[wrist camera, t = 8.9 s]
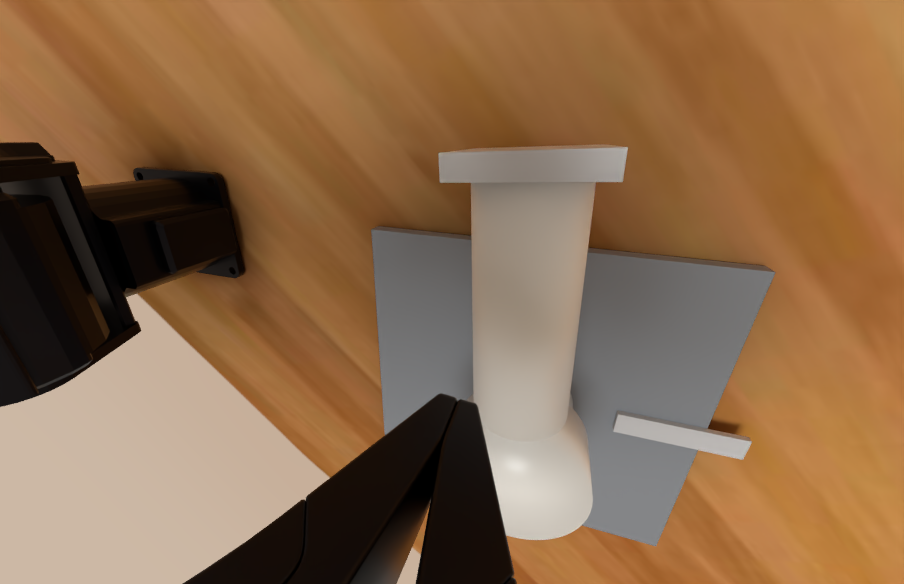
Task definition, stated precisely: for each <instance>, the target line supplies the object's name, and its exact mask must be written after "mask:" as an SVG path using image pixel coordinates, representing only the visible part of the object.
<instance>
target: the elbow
mask: <svg viewBox="0 0 904 584" xmlns="http://www.w3.org/2000/svg"><path fill="white" fill-rule="evenodd" d="M627 150H628V147H622V146H615V145H608V144H596V145H564V146H532V147H500V148H474V149H465V150H457V151H449V152H441V153H438V154H439V176H440V183H471V239H472V321H473V394H472V395H471V396H470V397H469V398H468V399H467V401H470V402H473V403H476V404H477V406H478V409H479V413H480V418H481V422H482V427H483V432H484V436H485V441H486V445H487V450H488V455H489V459H490V464H491V468H492V473H493V478H494V482H495V487H496V491H497V496H498V501H499V505H500V510H501V514H502V519H503V524H504V528H505V533H506V535H507V536H511V537H515V538H520V539H528V540H547V539H554V538H558V537H562V536H564V535H567V534H569V533H571V532H573V531H575V530H576V529H578V528H579V527H580V526H581V525H582V524H583V523H584V522H585V521H586V520H587V518H588V516H589V514H590V512H591V509H592V504H593V494H592V483H591V471H590V460H589V449H588V438H587V433H586V429H585V426H584V424H583V422H582V420H581V419H580V417H579V416H578V414H577V413H576V412H575V411H574V410H573V408H572V407H571V406H569V399H570V391H571V383H572V375H573V367H574V359H575V350H576V342H577V334H578V326H579V318H580V310H581V301H582V293H583V285H584V277H585V269H586V261H587V253H588V244H589V236H590V228H591V220H592V212H593V204H594V195H595V187H596V182H623V177H624V170H625V163H626V157H627Z"/></svg>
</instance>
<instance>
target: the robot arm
mask: <svg viewBox="0 0 904 584" xmlns="http://www.w3.org/2000/svg"><path fill="white" fill-rule="evenodd" d="M133 173H134V178H135V181H130V182H120V183H111V184H101V185H91V186H81V183H80V181H79V178H78V176H77V174H79V171H78V169H77V166H76V164H75V162H74V161H56V160H55V159H54V157H53V156H52V155H50V154H49V153H48V152H47V151H46V150H45V149H44V148H43V147H42V146H41V145H40V144H39V143H34V142H6V143H0V407H1V406H6V405H10V404H14V403H18V402H21V401H24V400H27V399H30V398H33V397H36V396H39V395H41V394H44V393H46V392H49V391H51V390H53V389H55V388H57V387H59V386H61V385H63V384H65V383H66V382H68V381H70V380H71V379H73V378H75V377H76V376H77V375H79V374H80V373H81V372H83V371H85V370H86V369H87V368H89V367H90V366H92V365H93V364H95V363H96V362H98V361H99V360H100V359H102V358H103V357H105V356H106V355H108V354H109V353H110V352H112V351H113V350H115V349H116V348H118V347H119V346H121V345H122V344H123V343H125V342H126V341H128V340H129V339H131V338H132V337H133V336H135V335H136V334H138V333H139V332H140V331H141V329H140V326H139V323H138V322H137V321H135V319H134V317H133V314H132V312H131V309H130V307H129V304H128V302H127V299H126V297H128V296H131V295H134V294H136V293H139V292H142V291H145V290H147V289H150V288H153V287H156V286H158V285H161V284H164V283H167V282H169V281H172V280H175V279H177V278H180V277H183V276H186V275H188V274H191V273H194V272H199V273H206V274H212V275H218V276H225V277H231V278H237V277H240V276H242V275H243V274H244V268H243V264H242V260H241V255H240V251H239V247H238V242H237V238H236V233H235V229H234V225H233V220H232V216H231V211H230V207H229V203H228V198H227V194H226V190H225V185H224V181H223V179H222V177H221V176H220V175H219V174H218V173H215V172H201V171H187V170H173V169H159V168H145V167H143V168H135V169H134V172H133ZM213 180H214V181H213ZM214 182H215V183H214ZM429 505H430V508H429ZM428 508H429V513H428V519H427V524H426V530H425V535H424V541H423V546H422V552H421V558H420V563H419V568H418V574H417V580H416V584H517V582H516V580H515V579H514V578H513V576H514V570H513V565H512V560H511V556H510V551H509V547H508V542H507V537H506V533H505V528H504V524H503V519H502V514H501V510H500V505H499V501H498V496H497V491H496V487H495V482H494V478H493V473H492V468H491V464H490V459H489V455H488V450H487V445H486V441H485V436H484V432H483V427H482V422H481V418H480V413H479V409H478V406H477V404H476V403H473V402H470V401H467V400H463V399H459V400H457V398H456V397H453V396H450V395H446V394H443V393H440V394H438V395H436V396H435V397H434V398H432V399H431V400H430V401H429V402H427V403H426V404H425V405H423V406H422V407H421V408H420V409H418V410H417V411H416V412H414V413H413V414H412V415H411V416H409V417H408V418H407V419H405V420H404V421H403V422H402V423H400V424H399V425H398V426H396V427H395V428H394V429H393V430H391V431H390V432H389V433H387V434H386V435H385V436H384V437H382V438H381V439H380V440H378V441H377V442H376V443H375V444H373V445H372V446H371V447H369V448H368V449H367V450H366V451H364V452H363V453H362V454H360V455H359V456H358V457H357V458H355V459H354V460H353V461H351V462H350V463H349V464H347V465H346V466H345V467H344V468H342V469H341V470H340V471H338V472H337V473H336V474H335V475H333V476H332V477H331V478H330V479H329V480H327V481H326V482H324V483H323V484H322V485H320V486H319V487H318V488H317V489H315V490H314V491H313V492H311V493H310V494H309V495H308V496H307V497H306V501H305V500H301V501H300V502H298V503H297V504H296V505H294V506H293V507H292V508H291V509H289V510H288V511H287V512H285V513H284V514H283V515H282V516H280V517H279V518H278V519H276V520H275V521H274V522H272V523H271V524H269V525H268V526H267V527H266V528H264V529H263V530H261V531H260V532H259V533H257V534H256V535H255V536H253V537H252V538H251V539H249V540H248V541H246V542H245V543H243V544H242V545H240V546H239V547H238V548H236V549H235V550H233V551H232V552H230V553H229V554H227V555H226V556H224V557H223V558H221V559H220V560H218V561H217V562H215V563H214V564H212V565H211V566H209V567H208V568H206V569H205V570H203V571H202V572H200V573H199V574H197V575H195V576H194V577H193V578H191V579H189V580H188V581H186V582H185V583H183V584H396V583H397V581H398V578H399V576H400V574H401V571H402V569H403V567H404V564H405V562H406V560H407V558H408V555H409V553H410V551H411V548H412V546H413V544H414V541H415V539H416V537H417V534H418V532H419V530H420V527H421V525H422V523H423V520H424V518H425V515H426V513H427V510H428Z"/></svg>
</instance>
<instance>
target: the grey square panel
mask: <svg viewBox="0 0 904 584" xmlns="http://www.w3.org/2000/svg"><path fill="white" fill-rule="evenodd" d="M371 232H372V248H373V263H374V278H375V293H376V308H377V323H378V339H379V354H380V369H381V384H382V399H383V415H384V430H385V435H386V434H387V433H389V432H390V431H391V430H393V429H394V428H395V427H396V426H398V425H399V424H400V423H402V422H403V421H404V420H405V419H407V418H408V417H409V416H411V415H412V414H413V413H414V412H416V411H417V410H418V409H420V408H421V407H422V406H423V405H425V404H426V403H427V402H429V401H430V400H431V399H432V398H434V397H435V396H436V395H438V394H440V393H443V394H446V395H450V396H453V397H456V398H457V400H459V399H463V400H467V399H468V398H469V397H470V396H471V395H472V394H473V321H472V239H471V236H469V235H460V234H450V233H440V232H430V231H421V230H411V229H401V228H391V227H382V226H378V227H376V228H373V229H371ZM774 275H775V272H774V271H773V270H771V269H769V268H768V267H766V266H761V265H752V264H742V263H732V262H722V261H713V260H703V259H693V258H683V257H674V256H664V255H654V254H644V253H635V252H625V251H615V250H606V249H596V248H588V253H587V261H586V269H585V277H584V285H583V293H582V301H581V310H580V318H579V326H578V334H577V342H576V350H575V359H574V367H573V375H572V383H571V391H570V399H569V406H571V407H572V408H573V410H574V411H575V412H576V413H577V414H578V416H579V417H580V419H581V420H582V422H583V424H584V426H585V429H586V433H587V438H588V449H589V460H590V471H591V483H592V494H593V504H592V509H591V512H590V514H589V516H588V518H587V520H586V521H585V522H584V523H583V524H582V525H583V526H586V527H590V528H593V529H597V530H600V531H604V532H607V533H611V534H614V535H618V536H621V537H625V538H628V539H632V540H636V541H639V542H643V543H646V544H650V545H653V546H656V545H657V543H658V541H659V538H660V536H661V534H662V531H663V529H664V527H665V524H666V522H667V520H668V518H669V515H670V513H671V511H672V508H673V506H674V504H675V502H676V499H677V497H678V495H679V492H680V490H681V488H682V485H683V483H684V481H685V479H686V476H687V474H688V472H689V469H690V467H691V465H692V463H693V460H694V458H695V456H696V453H697V451H698V450H700V451H705V452H709V453H714V454H719V455H723V456H728V457H732V458H737V459H742V460H743V458H744V456H745V454H746V452H747V451H748V449H749V447H750V445H751V443H752V441H751V440H750V438H749V437H745V436H740V435H735V434H731V433H726V432H721V431H716V430H711V429H707V428H708V426H709V424H710V421H711V419H712V417H713V414H714V412H715V410H716V408H717V405H718V403H719V401H720V398H721V396H722V394H723V392H724V389H725V387H726V385H727V382H728V380H729V378H730V375H731V373H732V371H733V369H734V366H735V364H736V362H737V359H738V357H739V355H740V353H741V350H742V348H743V346H744V343H745V341H746V339H747V337H748V334H749V332H750V330H751V327H752V325H753V323H754V320H755V318H756V316H757V314H758V311H759V309H760V307H761V304H762V302H763V300H764V298H765V295H766V293H767V291H768V288H769V286H770V284H771V281H772V279H773V277H774Z"/></svg>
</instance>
